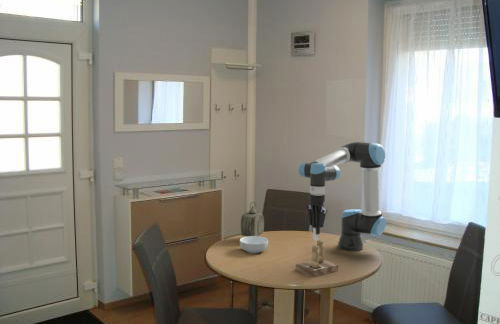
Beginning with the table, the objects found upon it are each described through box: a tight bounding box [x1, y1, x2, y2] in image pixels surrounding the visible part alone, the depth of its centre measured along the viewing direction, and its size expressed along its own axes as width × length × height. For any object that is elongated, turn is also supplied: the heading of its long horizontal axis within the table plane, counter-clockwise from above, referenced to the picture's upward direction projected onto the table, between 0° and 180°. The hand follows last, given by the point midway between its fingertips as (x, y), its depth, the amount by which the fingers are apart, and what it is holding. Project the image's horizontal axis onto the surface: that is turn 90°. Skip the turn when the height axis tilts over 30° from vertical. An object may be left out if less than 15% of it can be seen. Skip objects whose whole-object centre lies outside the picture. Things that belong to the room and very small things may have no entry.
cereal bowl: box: [239, 235, 269, 254], centre depth 292 cm, size 17×17×7 cm
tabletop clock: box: [240, 201, 265, 237], centre depth 312 cm, size 14×9×25 cm, turn 150°
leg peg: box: [311, 245, 319, 269], centre depth 255 cm, size 4×4×14 cm
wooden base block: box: [294, 239, 339, 278], centre depth 259 cm, size 18×13×14 cm
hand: (315, 240), depth 253 cm, fingers closed
